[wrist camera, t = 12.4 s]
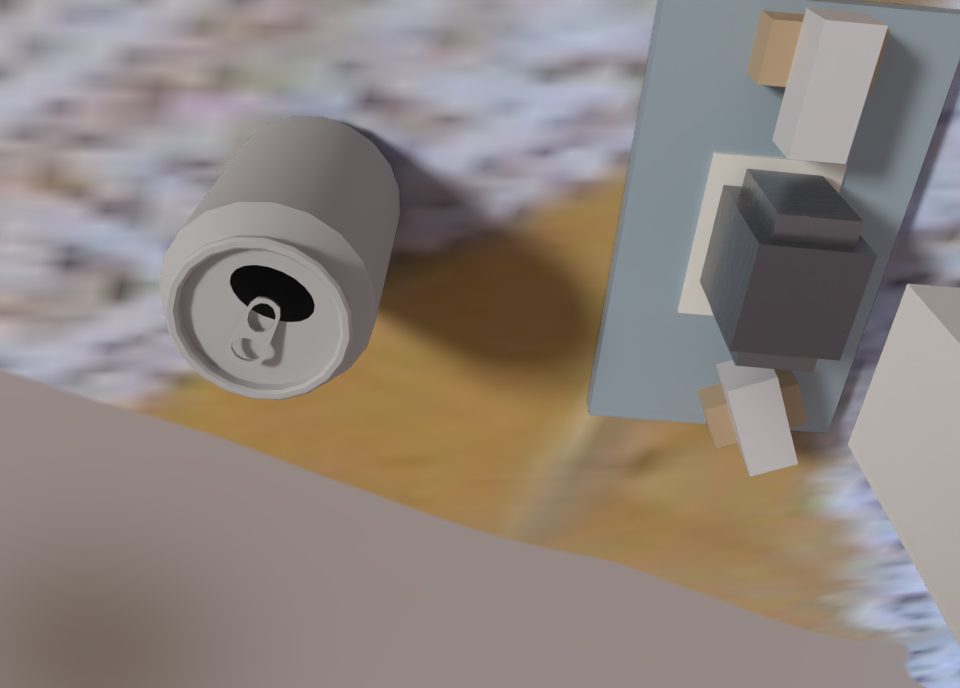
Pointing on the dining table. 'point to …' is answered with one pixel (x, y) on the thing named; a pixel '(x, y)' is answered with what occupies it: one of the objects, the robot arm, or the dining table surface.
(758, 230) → the stepped grey block
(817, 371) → the rig
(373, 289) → the can
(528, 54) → the dining table surface
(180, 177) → the dining table surface
